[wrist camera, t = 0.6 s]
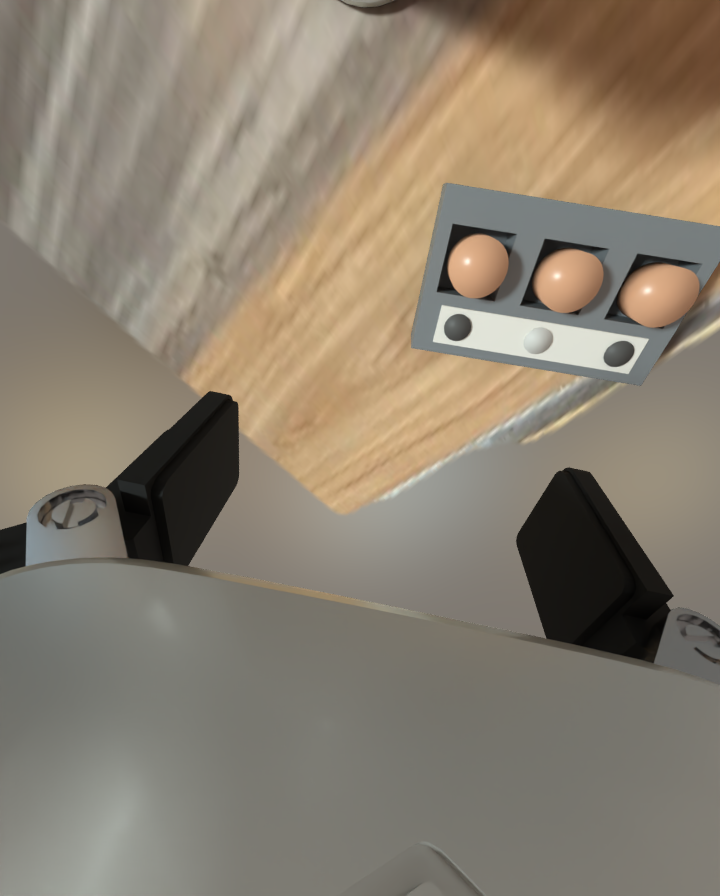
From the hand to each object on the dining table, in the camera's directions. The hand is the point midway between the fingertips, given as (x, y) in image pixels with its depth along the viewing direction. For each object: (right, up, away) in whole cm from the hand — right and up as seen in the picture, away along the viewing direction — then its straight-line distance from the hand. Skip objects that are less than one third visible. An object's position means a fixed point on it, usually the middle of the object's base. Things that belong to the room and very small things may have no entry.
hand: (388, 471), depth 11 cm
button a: (+10, +18, +23) cm, 31 cm away
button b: (+17, +16, +23) cm, 33 cm away
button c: (+25, +15, +23) cm, 37 cm away
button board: (+18, +17, +26) cm, 36 cm away
